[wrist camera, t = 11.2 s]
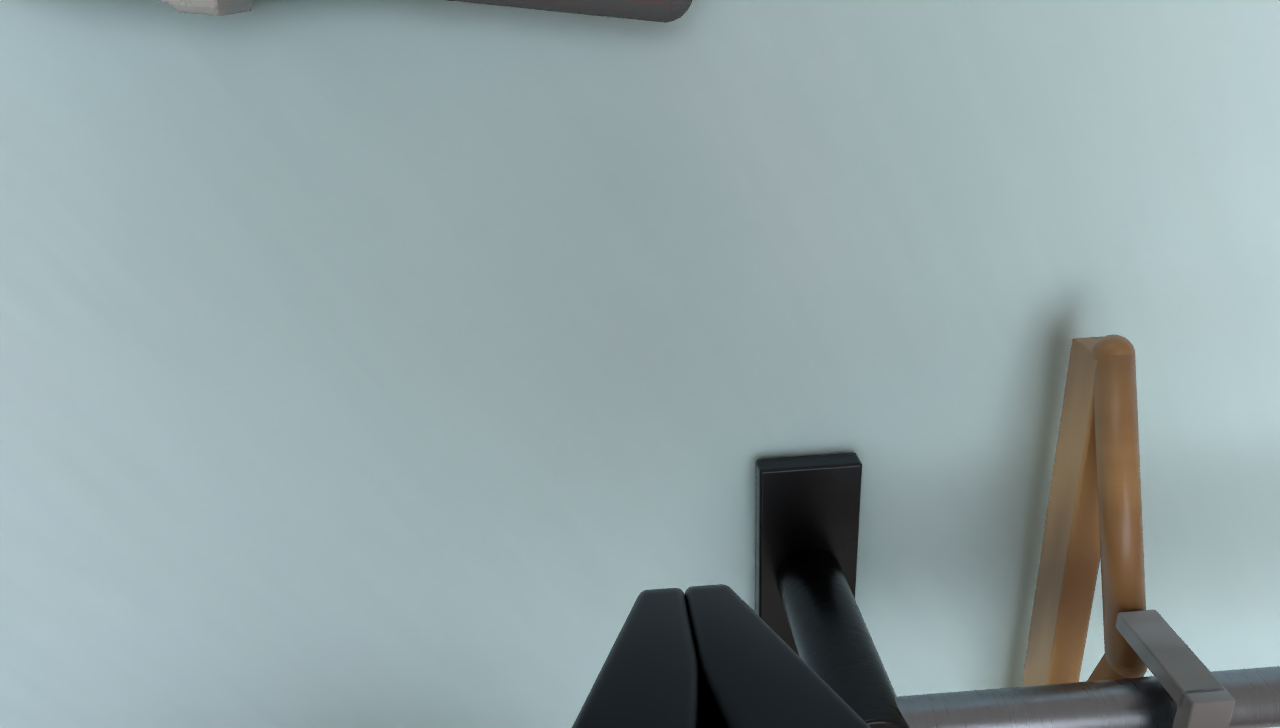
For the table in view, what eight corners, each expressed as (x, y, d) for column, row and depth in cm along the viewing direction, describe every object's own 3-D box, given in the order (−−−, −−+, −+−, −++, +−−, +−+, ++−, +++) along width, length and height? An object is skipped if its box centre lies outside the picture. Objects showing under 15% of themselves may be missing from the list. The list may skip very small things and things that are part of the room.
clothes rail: (1509, 601, 25) (1777, 787, 20) (754, 660, 25) (807, 871, 19) (1587, 400, 23) (1917, 545, 17) (755, 458, 22) (815, 629, 17)
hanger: (1037, 764, 25) (1162, 983, 20) (1008, 767, 25) (1125, 986, 20) (1110, 317, 20) (1303, 448, 15) (1073, 320, 20) (1253, 452, 15)
